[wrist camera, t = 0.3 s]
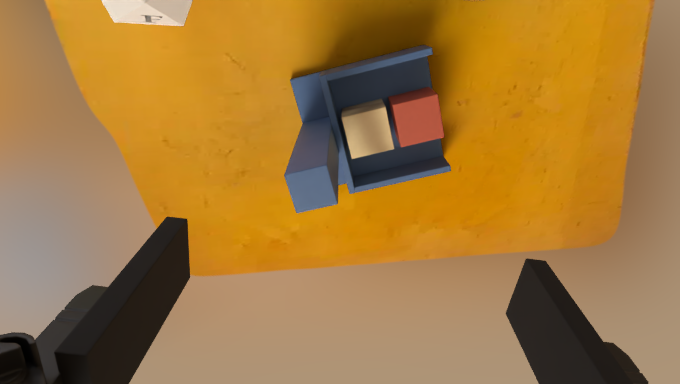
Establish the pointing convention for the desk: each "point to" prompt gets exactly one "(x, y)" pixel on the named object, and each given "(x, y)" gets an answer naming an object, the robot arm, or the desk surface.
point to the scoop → (330, 139)
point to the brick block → (416, 116)
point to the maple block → (367, 128)
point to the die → (149, 11)
